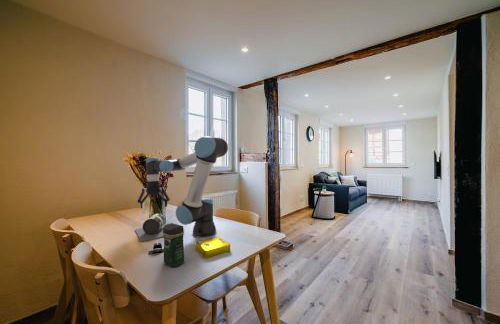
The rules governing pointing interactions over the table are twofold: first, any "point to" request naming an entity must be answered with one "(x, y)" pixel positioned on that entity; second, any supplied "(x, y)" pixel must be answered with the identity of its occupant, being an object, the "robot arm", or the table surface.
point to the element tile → (212, 247)
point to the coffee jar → (173, 245)
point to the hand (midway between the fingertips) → (154, 212)
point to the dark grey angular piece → (156, 249)
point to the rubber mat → (146, 237)
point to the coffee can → (153, 224)
